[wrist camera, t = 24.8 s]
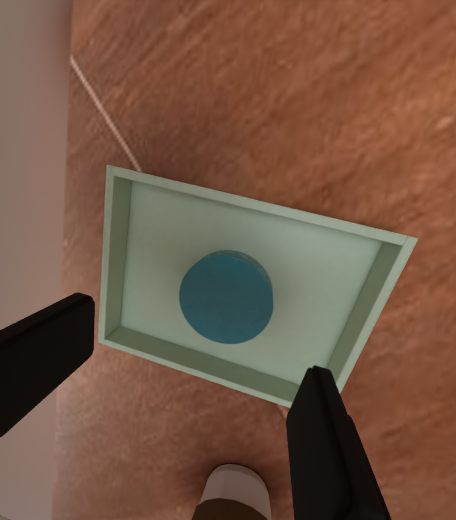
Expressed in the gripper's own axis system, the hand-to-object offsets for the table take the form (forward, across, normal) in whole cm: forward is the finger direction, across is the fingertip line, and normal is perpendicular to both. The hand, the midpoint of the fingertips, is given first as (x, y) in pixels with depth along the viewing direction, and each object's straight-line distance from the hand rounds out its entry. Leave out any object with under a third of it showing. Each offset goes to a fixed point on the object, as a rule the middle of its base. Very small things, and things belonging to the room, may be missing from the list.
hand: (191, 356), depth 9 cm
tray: (+9, 0, 0) cm, 9 cm away
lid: (+7, 0, +1) cm, 7 cm away
